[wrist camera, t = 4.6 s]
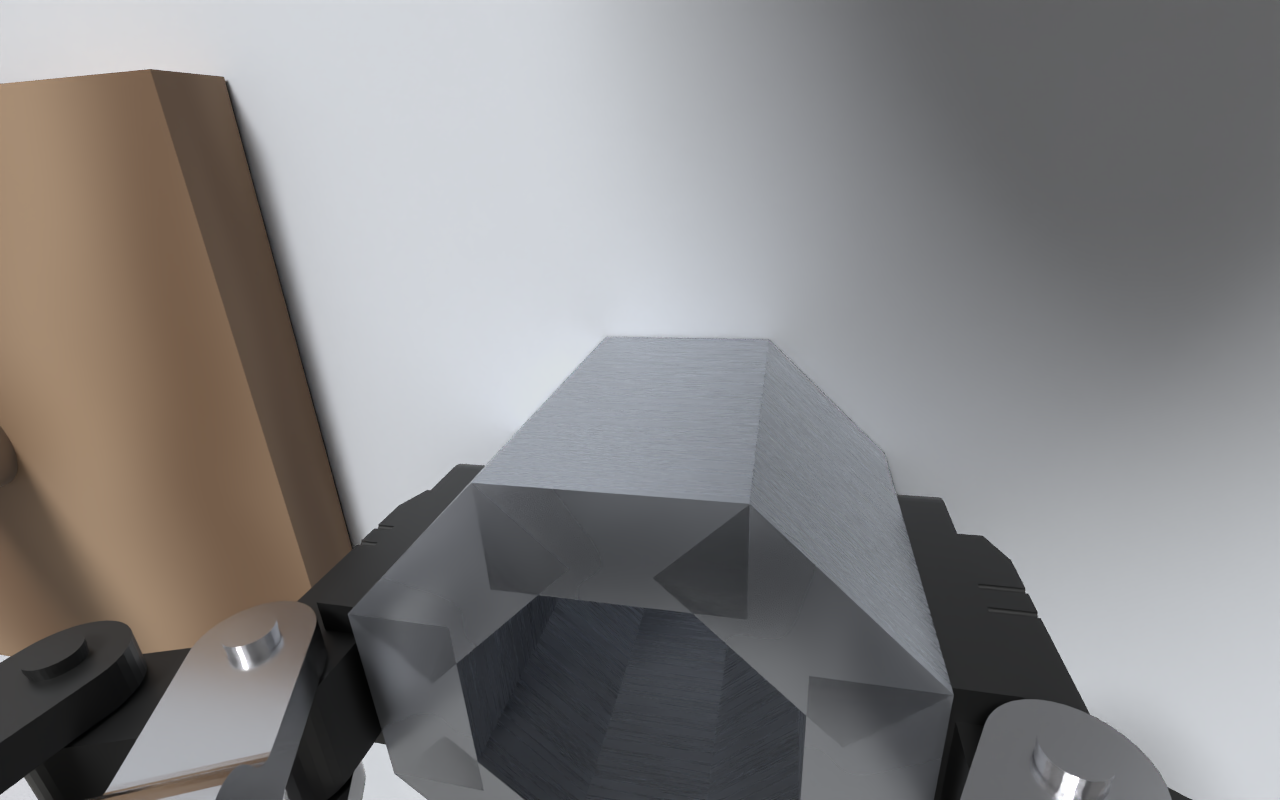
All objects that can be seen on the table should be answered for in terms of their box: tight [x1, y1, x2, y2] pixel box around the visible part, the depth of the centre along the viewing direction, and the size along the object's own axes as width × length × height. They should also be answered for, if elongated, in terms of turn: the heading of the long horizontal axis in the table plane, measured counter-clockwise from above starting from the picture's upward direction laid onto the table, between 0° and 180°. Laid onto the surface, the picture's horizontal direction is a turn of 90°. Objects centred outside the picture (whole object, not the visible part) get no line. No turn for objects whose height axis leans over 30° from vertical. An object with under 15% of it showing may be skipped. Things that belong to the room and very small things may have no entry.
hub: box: [348, 337, 954, 800], centre depth 8 cm, size 6×6×4 cm
